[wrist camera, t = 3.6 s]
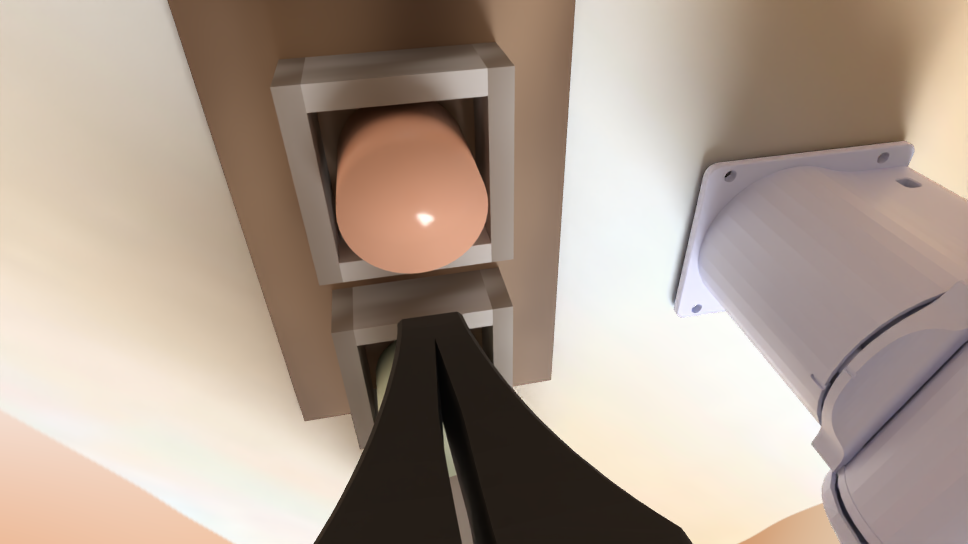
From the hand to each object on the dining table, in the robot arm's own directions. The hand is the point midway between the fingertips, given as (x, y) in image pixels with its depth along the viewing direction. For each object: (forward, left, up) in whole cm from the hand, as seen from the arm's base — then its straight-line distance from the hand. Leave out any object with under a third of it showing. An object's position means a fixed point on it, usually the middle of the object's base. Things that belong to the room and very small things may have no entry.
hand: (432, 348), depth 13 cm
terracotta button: (0, 0, -9) cm, 9 cm away
